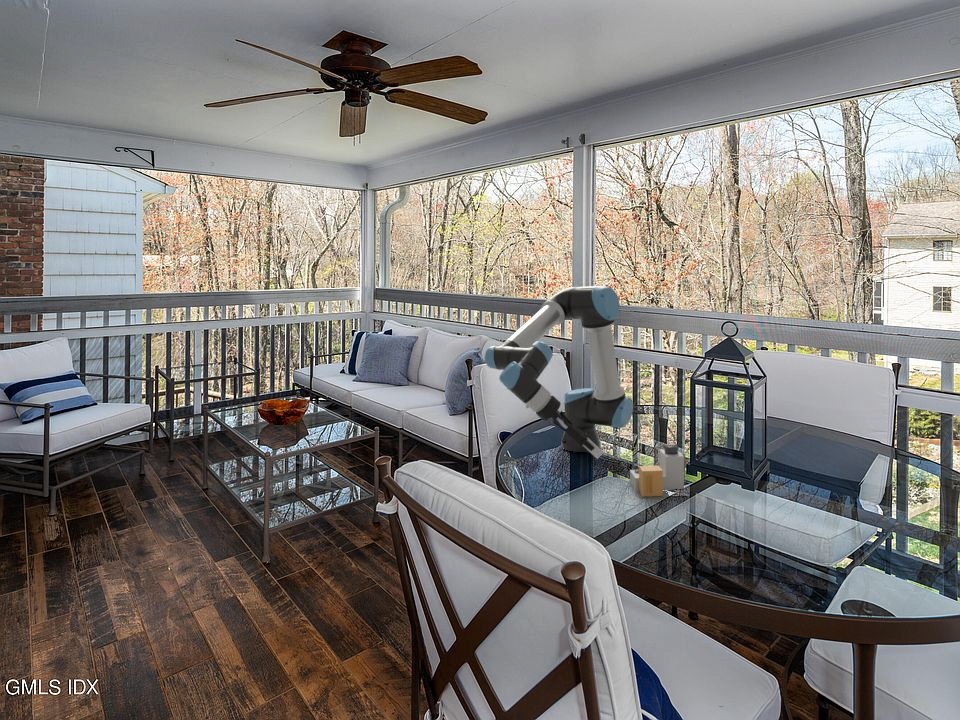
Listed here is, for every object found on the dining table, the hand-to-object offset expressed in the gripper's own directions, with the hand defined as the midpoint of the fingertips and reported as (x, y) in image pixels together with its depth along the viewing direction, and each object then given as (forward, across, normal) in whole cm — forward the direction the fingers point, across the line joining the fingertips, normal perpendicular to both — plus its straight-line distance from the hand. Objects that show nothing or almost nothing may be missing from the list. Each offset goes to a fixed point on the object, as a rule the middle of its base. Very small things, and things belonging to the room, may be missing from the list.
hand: (600, 455), depth 173 cm
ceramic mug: (+29, -21, +10) cm, 37 cm away
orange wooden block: (+20, -1, +2) cm, 20 cm away
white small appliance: (+23, -5, +4) cm, 24 cm away
